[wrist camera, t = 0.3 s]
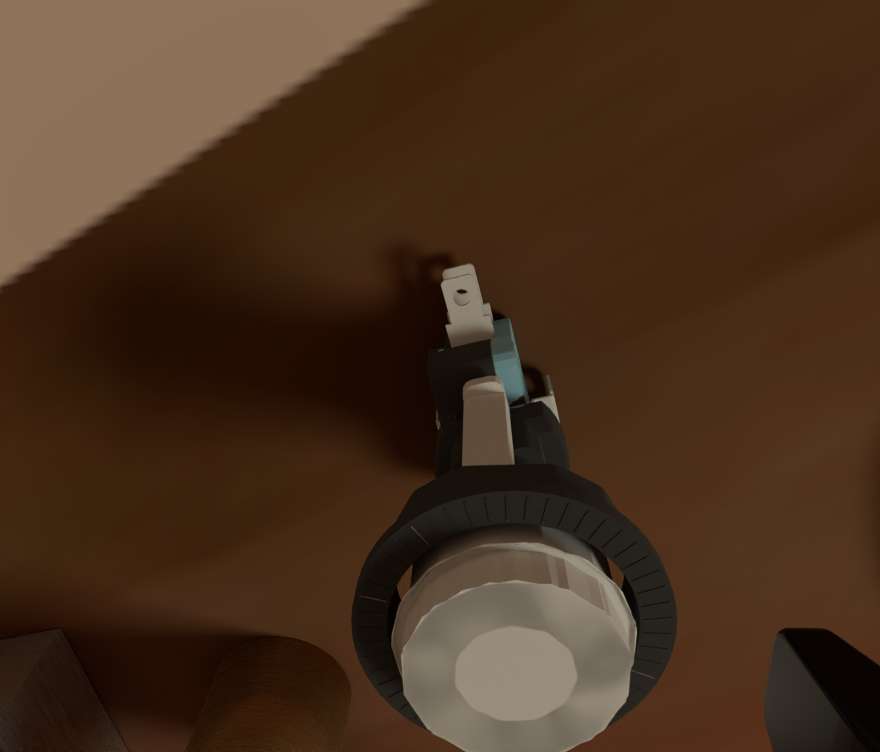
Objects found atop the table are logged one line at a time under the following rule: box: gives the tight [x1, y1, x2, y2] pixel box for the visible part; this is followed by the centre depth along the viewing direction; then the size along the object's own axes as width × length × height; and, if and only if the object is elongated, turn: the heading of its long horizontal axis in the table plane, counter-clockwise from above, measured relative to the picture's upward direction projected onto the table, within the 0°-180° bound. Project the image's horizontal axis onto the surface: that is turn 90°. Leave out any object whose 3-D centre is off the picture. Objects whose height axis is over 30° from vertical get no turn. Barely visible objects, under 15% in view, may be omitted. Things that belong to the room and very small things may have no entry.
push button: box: [351, 263, 677, 752], centre depth 17 cm, size 7×5×10 cm
